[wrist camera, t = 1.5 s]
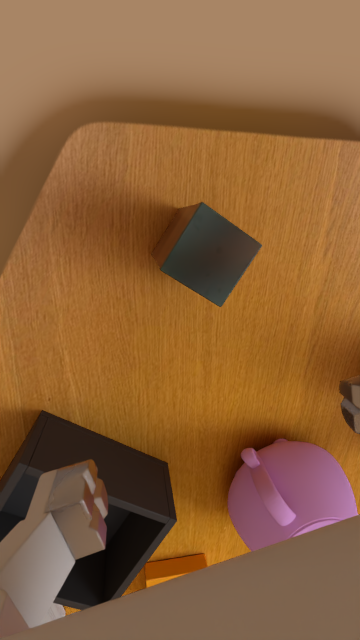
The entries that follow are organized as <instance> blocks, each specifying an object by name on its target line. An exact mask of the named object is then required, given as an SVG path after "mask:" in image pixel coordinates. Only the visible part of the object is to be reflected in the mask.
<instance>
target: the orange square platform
mask: <svg viewBox="0 0 360 640" xmlns="http://www.w3.org/2000/svg"><path fill="white" fill-rule="evenodd" d="M206 567H208V566H207V562H206V557H205V554H200V555H193V556H187V557H181V558H174V559H168V560H162V561H156V562H149V563H145V574H146V588H148V587H151V586H154V585H157V584H159V583H162V582H165V581H168V580H171V579H174V578H177V577H180V576H183V575H185V574H188V573H191V572H194V571H197V570H200V569H203V568H206Z"/></svg>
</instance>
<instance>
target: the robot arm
mask: <svg viewBox="0 0 360 640" xmlns="http://www.w3.org/2000/svg"><path fill="white" fill-rule="evenodd" d="M339 390H340V393H341V394H342V395H343V396H344V399H343V401H342V403H341V409H342V414H343V416H344V419H345V421H346V423H347V424H348V425H349V427H350V428H351V429H352V430H353V431H354V432H355V433H358V434H360V375H358V376H355V377H352V378H349V379H346V380H343V381H340V384H339ZM97 471H98V469H97V466H96V464H95V462H94V461H93V460H92V459H90V460H87V461H83V462H80V463H76V464H73V465H69V466H66V467H62V468H60V469H56V470H53V471H49V472H46V473H43V474H42V475H41V476H40V478H39V481H38V484H37V487H36V490H35V492H34V495H33V498H32V501H31V504H30V507H29V510H28V513H27V515H26V518H25V520H23V521H20V522H19V523H18V524H17V525H16V526H15V527H14V528H13V529H12V530H11V531H10V533H9V534H8V535H7V536H6V537H5V538H4V539H3V540H2V541H1V542H0V640H360V514H359V515H356V516H353V517H350V518H347V519H344V520H341V521H338V522H336V523H333V524H330V525H327V526H324V527H321V528H318V529H315V530H312V531H310V532H307V533H304V534H301V535H298V536H295V537H292V538H289V539H286V540H284V541H281V542H278V543H275V544H272V545H269V546H266V547H263V548H260V549H258V550H255V551H252V552H249V553H246V554H243V555H240V556H237V557H235V558H232V559H229V560H226V561H223V562H220V563H217V564H214V565H211V566H209V567H206V568H203V569H200V570H197V571H194V572H191V573H188V574H185V575H183V576H180V577H177V578H174V579H171V580H168V581H165V582H162V583H159V584H157V585H154V586H151V587H148V588H145V589H142V590H139V591H136V592H133V593H130V594H128V595H125V596H122V597H119V598H116V599H113V600H110V601H107V602H104V603H102V604H99V605H96V606H93V607H90V608H87V609H84V610H81V611H78V612H76V613H73V614H70V615H67V616H64V617H61V618H58V619H55V620H52V621H50V622H47V623H44V624H41V623H42V621H43V619H44V617H45V616H46V614H47V612H48V610H49V608H50V607H51V605H52V603H53V601H54V600H55V598H56V596H57V594H58V592H59V591H60V589H61V587H62V585H63V583H64V582H65V580H66V578H67V576H68V574H69V573H70V571H71V569H72V567H73V565H74V564H75V560H77V559H79V558H82V557H85V556H87V555H90V554H93V553H96V552H98V551H101V550H104V549H105V545H106V531H107V526H106V524H105V522H104V518H105V517H106V515H107V514H108V498H107V492H106V488H105V485H104V483H103V480H101V479H99V478H97Z"/></svg>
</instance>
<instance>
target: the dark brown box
mask: <svg viewBox="0 0 360 640" xmlns="http://www.w3.org/2000/svg"><path fill="white" fill-rule="evenodd" d="M90 459H92V460H93V461H94V462H95V464H96V466H97V469H98V471H97V478H99V479H101V480H103V483H104V485H105V488H106V492H107V498H108V514H107V515H106V517H105V518H104V522H105V524H106V526H107V531H106V545H105V549H104V550H101V551H98V552H96V553H93V554H90V555H87V556H85V557H82V558H79V559H77V560H75V564H74V565H73V567H72V569H71V571H70V573H69V574H68V576H67V578H66V580H65V582H64V583H63V585H62V587H61V589H60V591H59V592H58V594H57V596H56V598H55V600H54V601H53V603H56V604H60V605H64V606H68V607H72V608H76V609H80V610H84V609H87V608H90V607H93V606H96V605H99V604H102V603H104V602H107V601H110V600H113V599H116V598H119V597H121V596H122V594H123V593H124V592H125V590H126V589H127V588H128V586H129V585H130V584H131V582H132V581H133V580H134V578H135V577H136V576H137V574H138V573H139V571H140V570H141V569H142V567H143V566H144V565H145V563H146V562H147V561H148V559H149V558H150V557H151V555H152V554H153V553H154V551H155V550H156V549H157V547H158V546H159V544H160V543H161V542H162V540H163V539H164V538H165V536H166V535H167V534H168V532H169V531H170V530H171V528H172V527H173V526H174V524H175V523H176V521H177V518H176V512H175V506H174V500H173V493H172V487H171V481H170V475H169V469H168V463H166V462H164V461H161V460H159V459H156V458H154V457H152V456H149V455H147V454H145V453H142V452H140V451H138V450H135V449H133V448H130V447H128V446H126V445H123V444H121V443H119V442H116V441H114V440H112V439H109V438H107V437H104V436H102V435H100V434H97V433H95V432H93V431H90V430H88V429H86V428H83V427H81V426H78V425H76V424H74V423H71V422H69V421H67V420H64V419H62V418H60V417H57V416H55V415H52V414H50V413H48V412H45V411H43V410H42V412H41V413H40V415H39V417H38V418H37V420H36V422H35V423H34V425H33V427H32V429H31V430H30V432H29V434H28V435H27V437H26V439H25V440H24V442H23V444H22V445H21V447H20V449H19V450H18V452H17V454H16V455H15V457H14V459H13V460H12V462H11V464H10V466H9V467H8V469H7V471H6V472H5V474H4V476H3V477H2V479H1V481H0V542H1V541H2V540H3V539H4V538H5V537H6V536H7V535H8V534H9V533H10V531H11V530H12V529H13V528H14V527H15V526H16V525H17V524H18V523H19V522H20V521H23V520H25V518H26V515H27V513H28V510H29V507H30V504H31V501H32V498H33V495H34V492H35V490H36V487H37V484H38V481H39V478H40V476H41V475H42V474H43V473H46V472H49V471H53V470H56V469H60V468H62V467H66V466H69V465H73V464H76V463H80V462H83V461H87V460H90Z"/></svg>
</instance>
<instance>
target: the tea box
mask: <svg viewBox="0 0 360 640" xmlns="http://www.w3.org/2000/svg"><path fill="white" fill-rule="evenodd" d="M261 247H262V245H261V244H260V243H259V242H257V241H256V240H254V239H253V238H252V237H250V236H249V235H248V234H246V233H245V232H243V231H242V230H241V229H239V228H238V227H236V226H235V225H234V224H232V223H231V222H229V221H228V220H227V219H225V218H224V217H222V216H221V215H220V214H218V213H217V212H216V211H214V210H213V209H211V208H210V207H209V206H207V205H206V204H204V203H203V202H201V203H199V204H196V205H192V206H188V207H183V208H179V209H178V211H177V213H176V214H175V216H174V217H173V219H172V221H171V222H170V224H169V226H168V227H167V229H166V231H165V232H164V234H163V236H162V237H161V239H160V241H159V242H158V244H157V246H156V247H155V249H154V251H153V252H152V254H151V255H152V256H153V258H154V259H155V261H156V262H157V264H158V265H159V267H160V270H161V271H163V272H164V273H166V274H167V275H169V276H171V277H172V278H174V279H175V280H177V281H179V282H180V283H182V284H184V285H185V286H187V287H188V288H190V289H192V290H193V291H195V292H197V293H198V294H200V295H201V296H203V297H205V298H206V299H208V300H209V301H211V302H213V303H214V304H216V305H218V306H219V307H221V306H222V305H223V303H224V302H225V300H226V299H227V297H228V296H229V294H230V293H231V291H232V290H233V288H234V287H235V285H236V284H237V282H238V281H239V279H240V278H241V276H242V275H243V273H244V272H245V270H246V269H247V267H248V266H249V265H250V263H251V262H252V260H253V259H254V257H255V256H256V254H257V253H258V251H259V250H260V248H261Z"/></svg>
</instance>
